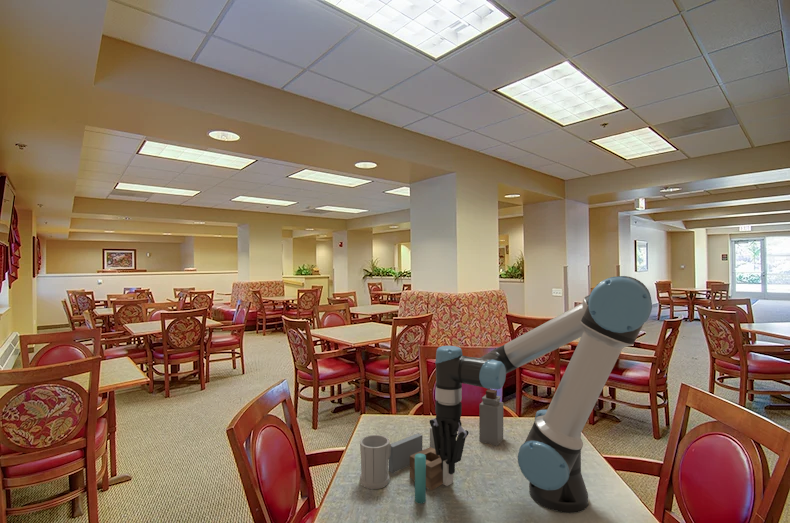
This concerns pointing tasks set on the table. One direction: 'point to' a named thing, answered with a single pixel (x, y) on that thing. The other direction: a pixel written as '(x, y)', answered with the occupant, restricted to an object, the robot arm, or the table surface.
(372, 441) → the cup
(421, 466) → the dowel
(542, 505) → the robot arm
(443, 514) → the table surface
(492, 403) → the perfume bottle
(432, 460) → the block
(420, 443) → the wall
